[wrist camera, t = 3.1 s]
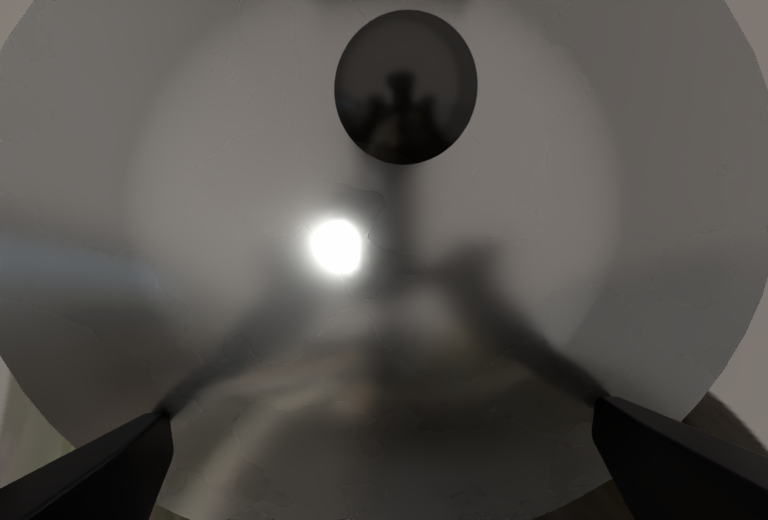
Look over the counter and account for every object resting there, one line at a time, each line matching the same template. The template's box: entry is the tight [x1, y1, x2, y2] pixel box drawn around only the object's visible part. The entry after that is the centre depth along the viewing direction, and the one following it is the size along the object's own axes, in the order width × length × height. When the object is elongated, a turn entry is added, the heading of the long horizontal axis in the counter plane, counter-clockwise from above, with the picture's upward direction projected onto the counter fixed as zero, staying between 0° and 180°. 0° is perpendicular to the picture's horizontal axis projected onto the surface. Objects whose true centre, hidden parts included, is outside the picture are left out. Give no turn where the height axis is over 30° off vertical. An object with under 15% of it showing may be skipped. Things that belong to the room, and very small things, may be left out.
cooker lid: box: [0, 0, 768, 520], centre depth 6 cm, size 19×14×2 cm
